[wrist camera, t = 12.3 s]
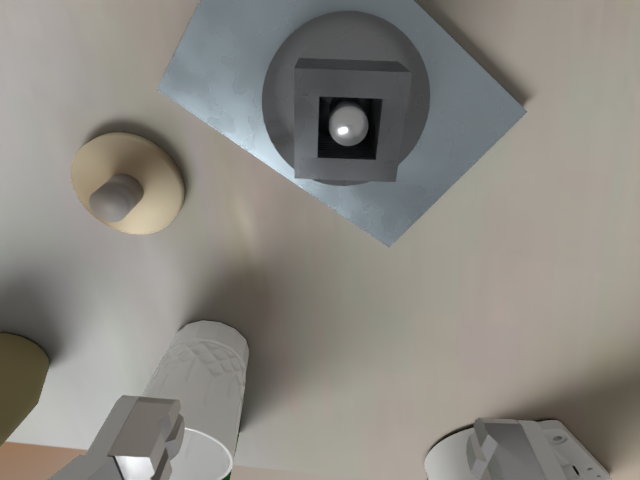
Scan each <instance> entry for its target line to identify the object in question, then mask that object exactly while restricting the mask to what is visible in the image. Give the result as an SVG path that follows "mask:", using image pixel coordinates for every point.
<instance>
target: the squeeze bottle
mask: <svg viewBox="0 0 640 480" xmlns="http://www.w3.org/2000/svg"><path fill="white" fill-rule="evenodd" d="M48 369H49V359H48V357H47V356H46V354H45V352H44V351H43V350H42V349H41V348H40V347H38V346H37V345H36V344H35V343H33V342H31V341H29V340H27V339H25V338H23V337H21V336H17V335H13V334H8V333H0V446H1V445H2V444H3V443H4V442H5V441H6V440H7V438H8V437H9V436H10V435H11V434H12V433H13V432H14V430H15V429H16V428H17V427H18V426H19V425H20V423H21V422H22V421H23V420H24V419H25V418H26V417H27V415H28V414H29V413H30V412H31V411H32V410H33V408H34V407H35V406H36V405H37V403H38V401H39V398H40V395H41V391H42V388H43V385H44V382H45V378H46V375H47V372H48Z"/></svg>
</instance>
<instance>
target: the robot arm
mask: <svg viewBox="0 0 640 480" xmlns="http://www.w3.org/2000/svg"><path fill="white" fill-rule="evenodd" d="M180 409H181V404H180V401H179V399H166V398H152V397H142V396H126V395H122V396H121V397H120V398H119V399H118V400H117V401H116V403H115V405H114V407H113V408H112V410H111V412H110V413H109V415H108V417H107V419H106V420H105V422H104V424H103V426H102V427H101V429H100V431H99V432H98V434H97V436H96V438H95V439H94V441H93V443H92V445H91V446H90V448H89V450H88V452H87V453H86V455H79V456H78V457H77V458H75V459H74V460H72V461H71V462H70V463H68V464H67V465H66V466H65V467H63V468H62V469H61V470H60V471H58V472H57V473H55V474H54V475H53V476H51V477H50V478H49V479H48V480H169V479H170V476H171V473H172V467H171V463H170V461H171V460H172V459H173V458H174V457H175V456H176V455H177V454H179V451H180V448H181V445H182V442H183V437H184V432H185V422H184V417H183V416H181V415H180V414H179V412H180ZM473 426H474V428H470V429H467V430H464V431H461V432H458V433H456V434H453V435H451V436H449V437H447V438H446V439H444V440H442V441H441V442H439V443H438V444H437V445H436V446H434V447H433V448H432V450H431V451H430V452H429V453H428V455H427V457H426V459H425V471H426V473H427V476H428V480H611V478H610V476H609V474H608V472H607V471H606V469H605V468H604V467H603V466H602V465H601V464H600V463H599V462H598V461H597V460H596V459H595V458H594V457H593V456H592V455H591V454H590V452H589V451H588V450H587V449H586V448H585V447H584V446H583V445H582V444H581V443H580V442H579V441H578V440H577V439H576V438H575V437H574V436H573V435H572V433H571V432H570V431H569V430H568V429H567V428H566V427H565V426H564V425H563V424H562V423H561V422H560V421H557V420H546V421H540V422H535V421H526V420H514V419H495V418H478V419H476V421H475V423H474V425H473Z"/></svg>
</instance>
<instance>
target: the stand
mask: <svg viewBox="0 0 640 480" xmlns="http://www.w3.org/2000/svg"><path fill="white" fill-rule="evenodd" d="M71 179H72V184H73V187H74V190H75V192H76V195H77V196H78V198H79V200H80V201H81V203H82V204H83V205H84V207H85V208H86V209H87V210H88V211H89V212H90V213H91V214H92V215H93V216H94V217H95V218H97V219H98V220H99V221H101V222H102V223H104V224H105V225H107V226H109V227H111V228H113V229H116V230H118V231H121V232H125V233H130V234H140V235H141V234H150V233H154V232H157V231H160V230H162V229H164V228H165V227H167V226H168V225H169V224H170V223H171V222H172V221H173V220H174V218H175V217H176V215H177V214H178V213H179V211H180V209H181V207H182V205H183V202H184V197H185V187H184V182H183V178H182V175H181V173H180V171H179V169H178V167H177V165H176V164H175V162H174V161H173V160H172V158H171V157H170V156H169V155H168V154H167V153H166V152H165V151H164V150H163V149H162V148H160V147H159V146H158V145H156V144H155V143H153V142H151V141H150V140H148V139H146V138H143V137H141V136H138V135H135V134H131V133H125V132H112V133H107V134H103V135H101V136H98V137H96V138H95V139H93V140H91V141H90V142H88V143H86V144H85V145H83V146H82V147H81V148H80V149H79V150H78V152H77V153H76V155H75V157H74V158H73V162H72V166H71Z"/></svg>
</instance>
